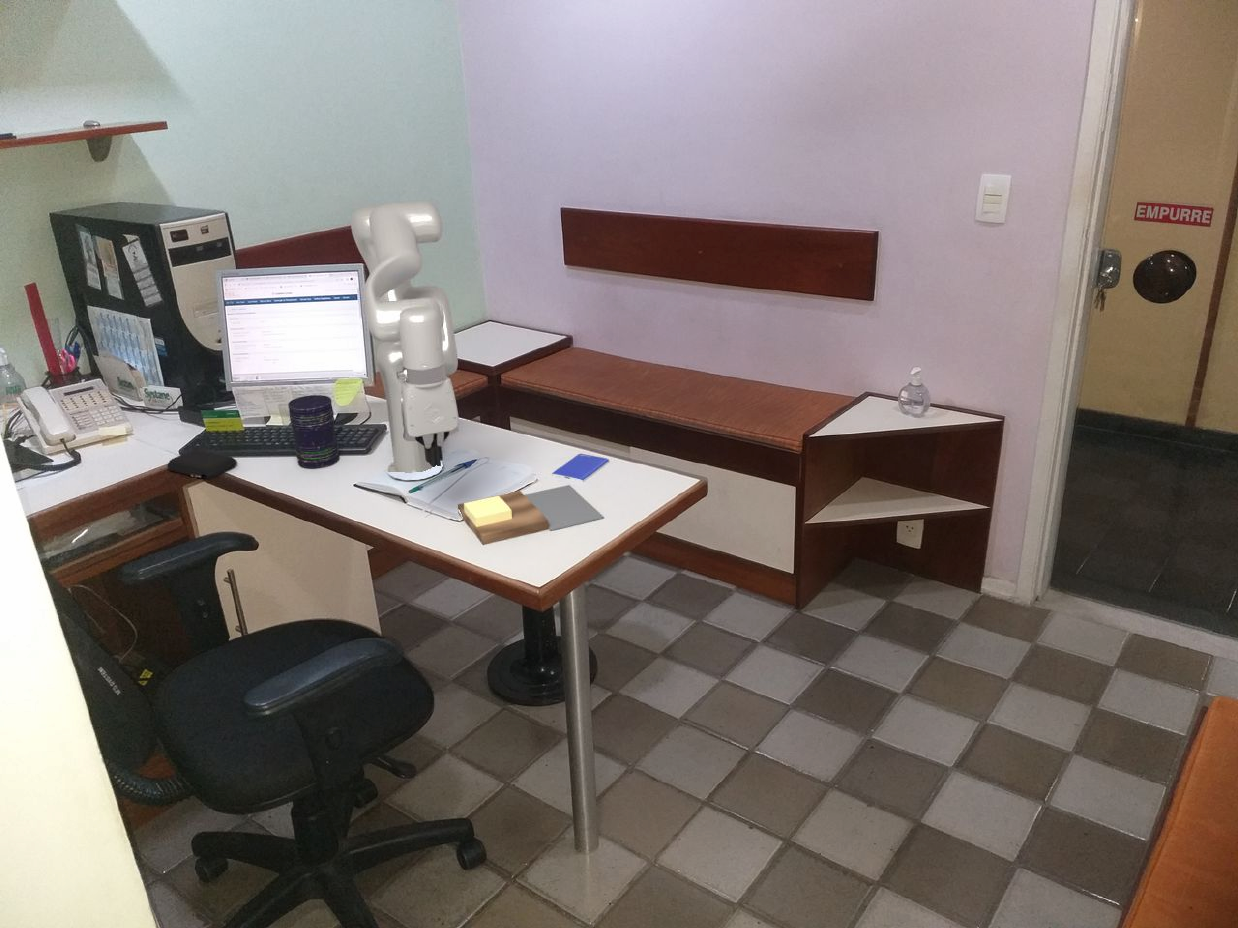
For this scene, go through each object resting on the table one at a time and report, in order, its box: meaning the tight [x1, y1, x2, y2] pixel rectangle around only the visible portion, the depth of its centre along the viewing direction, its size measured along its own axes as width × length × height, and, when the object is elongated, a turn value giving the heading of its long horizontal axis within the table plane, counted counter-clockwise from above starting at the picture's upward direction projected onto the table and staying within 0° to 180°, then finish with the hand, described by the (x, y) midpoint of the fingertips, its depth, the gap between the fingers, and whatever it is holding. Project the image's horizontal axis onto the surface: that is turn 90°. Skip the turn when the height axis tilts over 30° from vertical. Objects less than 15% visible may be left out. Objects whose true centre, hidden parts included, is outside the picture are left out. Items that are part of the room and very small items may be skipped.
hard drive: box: [551, 453, 610, 484], centre depth 224 cm, size 2×8×12 cm
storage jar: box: [287, 394, 341, 470], centre depth 228 cm, size 10×10×15 cm
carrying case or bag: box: [166, 449, 238, 480], centre depth 228 cm, size 11×3×15 cm
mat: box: [524, 484, 605, 532], centre depth 206 cm, size 18×12×1 cm, turn 26°
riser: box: [457, 490, 549, 545], centre depth 200 cm, size 16×14×2 cm
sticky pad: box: [463, 495, 512, 527], centre depth 198 cm, size 8×8×2 cm
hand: (434, 464), depth 189 cm, fingers closed
